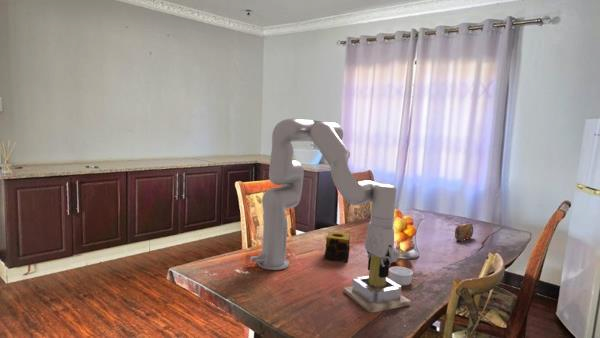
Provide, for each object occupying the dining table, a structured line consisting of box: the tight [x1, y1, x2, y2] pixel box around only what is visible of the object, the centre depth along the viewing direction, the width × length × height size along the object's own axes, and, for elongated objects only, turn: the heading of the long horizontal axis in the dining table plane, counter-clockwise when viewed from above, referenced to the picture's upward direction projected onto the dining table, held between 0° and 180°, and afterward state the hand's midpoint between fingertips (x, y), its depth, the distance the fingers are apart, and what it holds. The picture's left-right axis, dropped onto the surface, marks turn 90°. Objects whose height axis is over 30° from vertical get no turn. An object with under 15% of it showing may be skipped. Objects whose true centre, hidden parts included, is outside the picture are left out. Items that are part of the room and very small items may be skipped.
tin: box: [454, 222, 474, 242], centre depth 210 cm, size 15×3×8 cm, turn 129°
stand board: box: [342, 285, 411, 314], centre depth 134 cm, size 16×16×2 cm
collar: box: [352, 275, 402, 304], centre depth 133 cm, size 12×12×4 cm
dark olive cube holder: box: [323, 231, 351, 263], centre depth 171 cm, size 10×10×10 cm
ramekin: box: [388, 266, 414, 286], centre depth 149 cm, size 9×9×4 cm
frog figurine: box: [393, 247, 400, 263], centre depth 169 cm, size 6×7×7 cm
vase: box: [368, 253, 386, 287], centre depth 132 cm, size 6×6×14 cm
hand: (377, 272), depth 132 cm, fingers closed on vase, 5 cm apart
